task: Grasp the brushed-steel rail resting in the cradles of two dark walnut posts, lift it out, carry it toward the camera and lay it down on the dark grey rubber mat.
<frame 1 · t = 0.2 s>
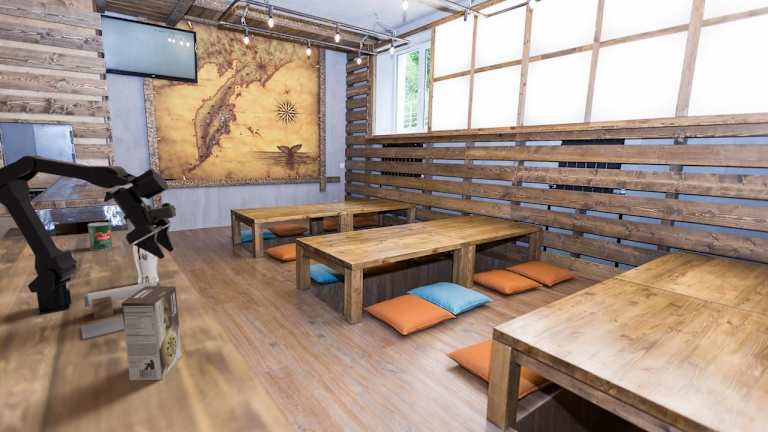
hand: (167, 254, 110), 14 cm above the table, tool tilted 30°, fingers open, 9 cm apart
rail: (124, 297, 106), point 3 cm above the table, touching post left, post right
post left: (103, 314, 104), on the table
mat: (131, 322, 99), on the table
beer glass: (148, 283, 128), on the table
canned tomato: (101, 248, 170), on the table
post right: (146, 305, 110), on the table
coffee box: (157, 368, 79), on the table
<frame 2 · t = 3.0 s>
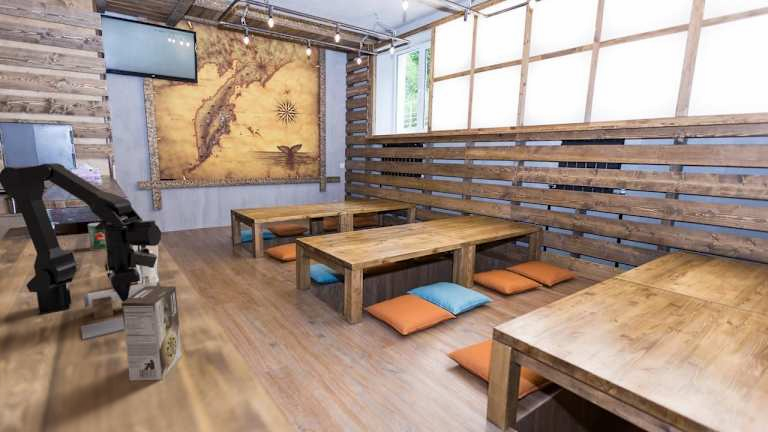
hand: (124, 299, 106), 3 cm above the table, tool pointing down, fingers closed on rail, 3 cm apart
rail: (124, 297, 106), point 3 cm above the table, touching gripper, post left, post right
everything else where it was.
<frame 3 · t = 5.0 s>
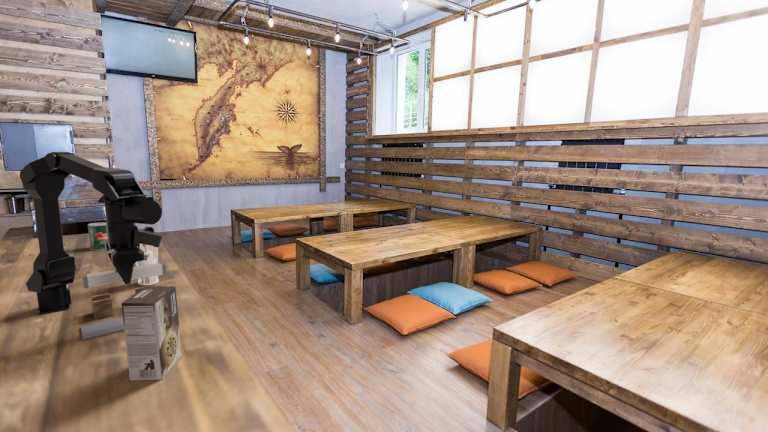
hand: (126, 282, 97), 11 cm above the table, tool pointing down, fingers closed on rail, 3 cm apart
rail: (126, 279, 97), point 12 cm above the table, touching gripper
everything else where it was.
when the fingers open (1 cm above the table, at t = 7.3 s): rail drops 2 cm, resting on mat.
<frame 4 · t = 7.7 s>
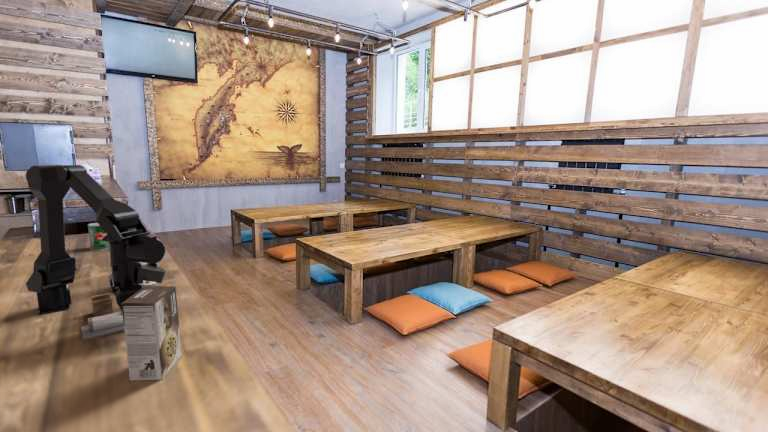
hand: (130, 317, 99), 1 cm above the table, tool pointing down, fingers open, 7 cm apart
rail: (131, 320, 99), resting on mat
everything else where it was.
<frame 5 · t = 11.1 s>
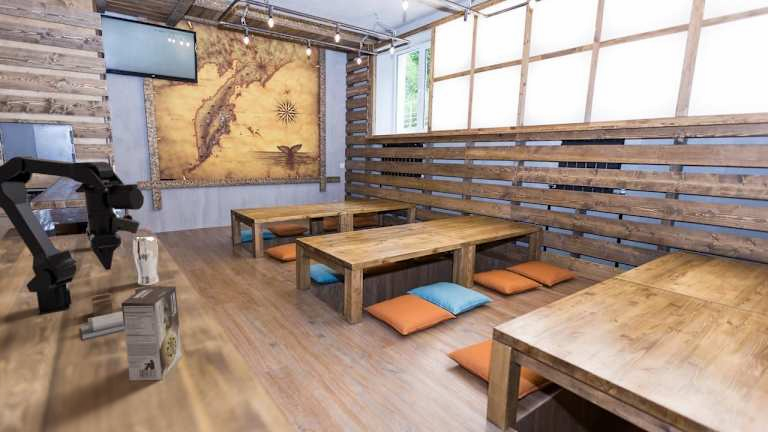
hand: (106, 265, 105), 13 cm above the table, tool pointing down, fingers open, 9 cm apart
nothing on the table moved.
at the end: rail inside the target area on the mat (0.0 cm from its centre), point 0.4 cm above the mat's base; rail touching mat; the gripper is holding nothing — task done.
